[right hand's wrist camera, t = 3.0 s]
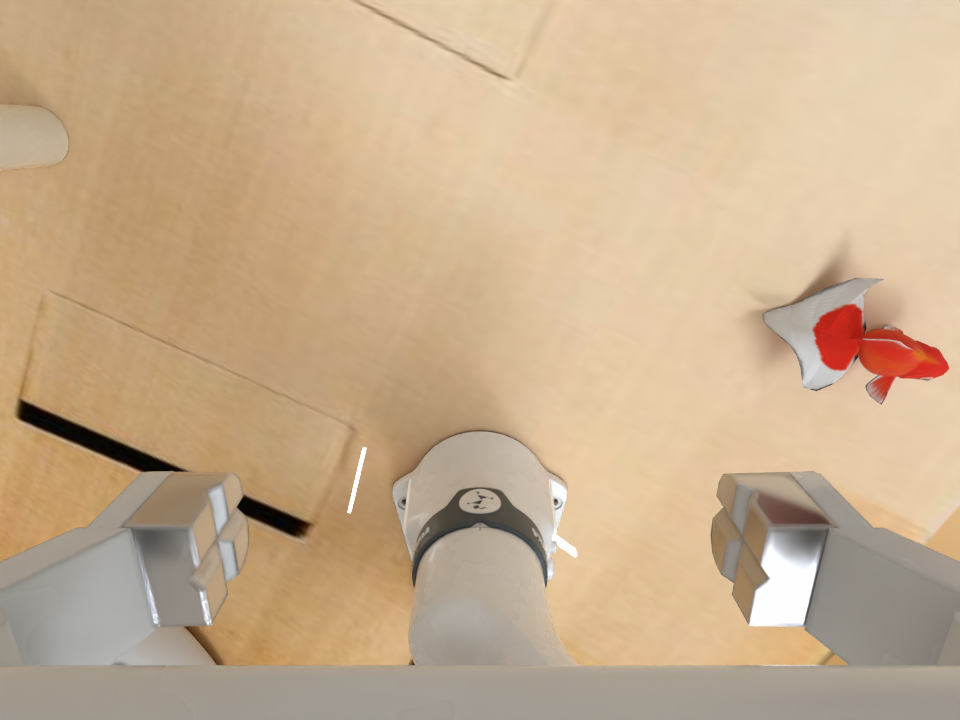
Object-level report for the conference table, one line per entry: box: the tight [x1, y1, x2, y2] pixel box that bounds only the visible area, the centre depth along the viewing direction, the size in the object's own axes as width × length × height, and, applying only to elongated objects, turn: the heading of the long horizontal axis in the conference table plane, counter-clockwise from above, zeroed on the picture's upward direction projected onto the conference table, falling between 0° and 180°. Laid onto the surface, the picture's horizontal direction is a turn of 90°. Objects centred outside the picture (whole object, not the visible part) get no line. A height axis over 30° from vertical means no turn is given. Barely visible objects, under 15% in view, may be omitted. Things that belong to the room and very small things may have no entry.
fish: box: [763, 278, 949, 405], centre depth 56 cm, size 11×16×10 cm
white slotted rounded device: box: [111, 626, 216, 665], centre depth 67 cm, size 22×23×15 cm
